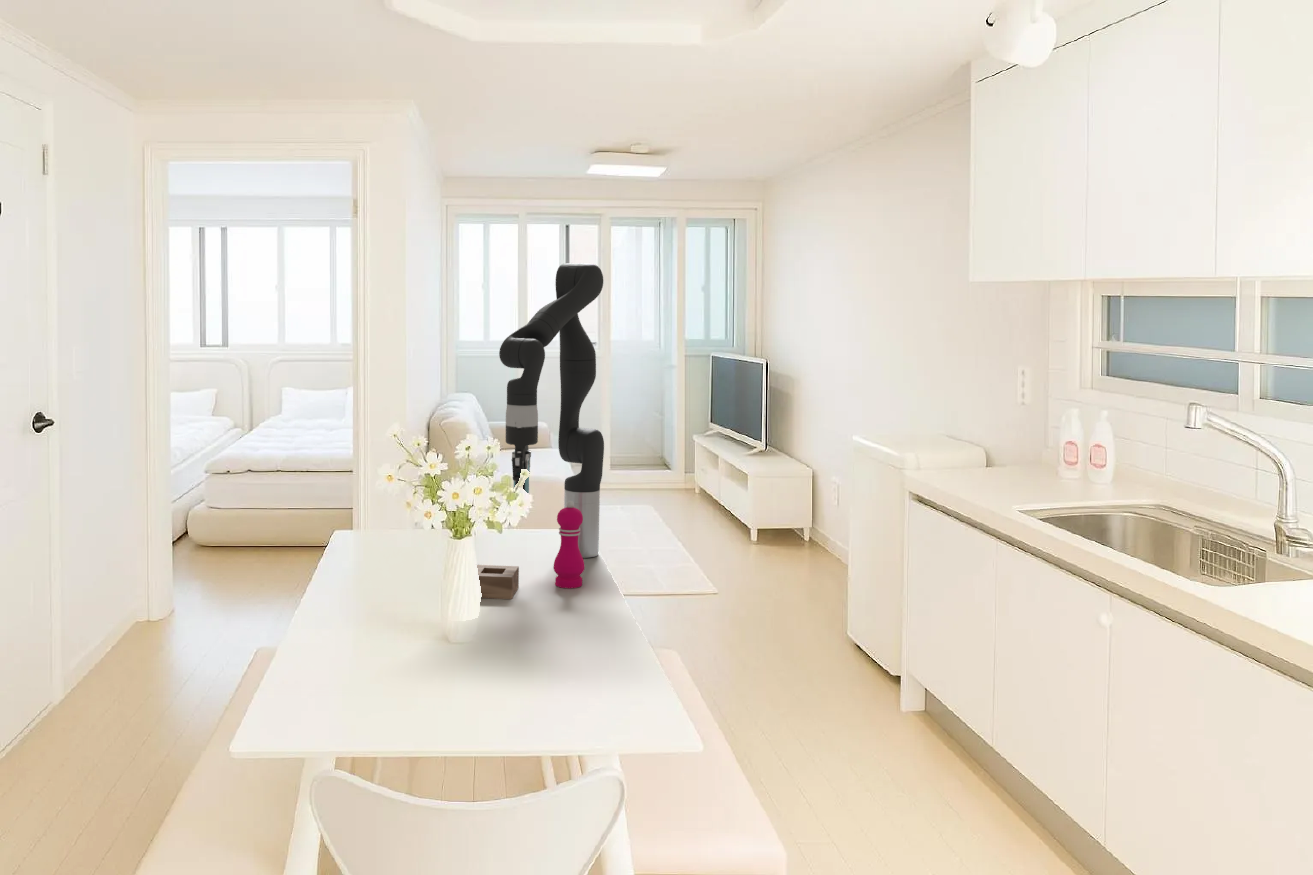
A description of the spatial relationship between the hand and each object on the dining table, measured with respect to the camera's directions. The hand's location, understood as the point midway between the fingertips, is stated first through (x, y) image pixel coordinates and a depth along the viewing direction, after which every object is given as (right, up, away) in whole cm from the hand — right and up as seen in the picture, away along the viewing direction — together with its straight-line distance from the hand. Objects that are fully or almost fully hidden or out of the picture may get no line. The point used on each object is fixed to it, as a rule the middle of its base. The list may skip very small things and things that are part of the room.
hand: (521, 495), depth 259 cm
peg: (0, -3, 0) cm, 3 cm away
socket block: (-5, -21, -11) cm, 25 cm away
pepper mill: (+11, -21, -3) cm, 24 cm away
